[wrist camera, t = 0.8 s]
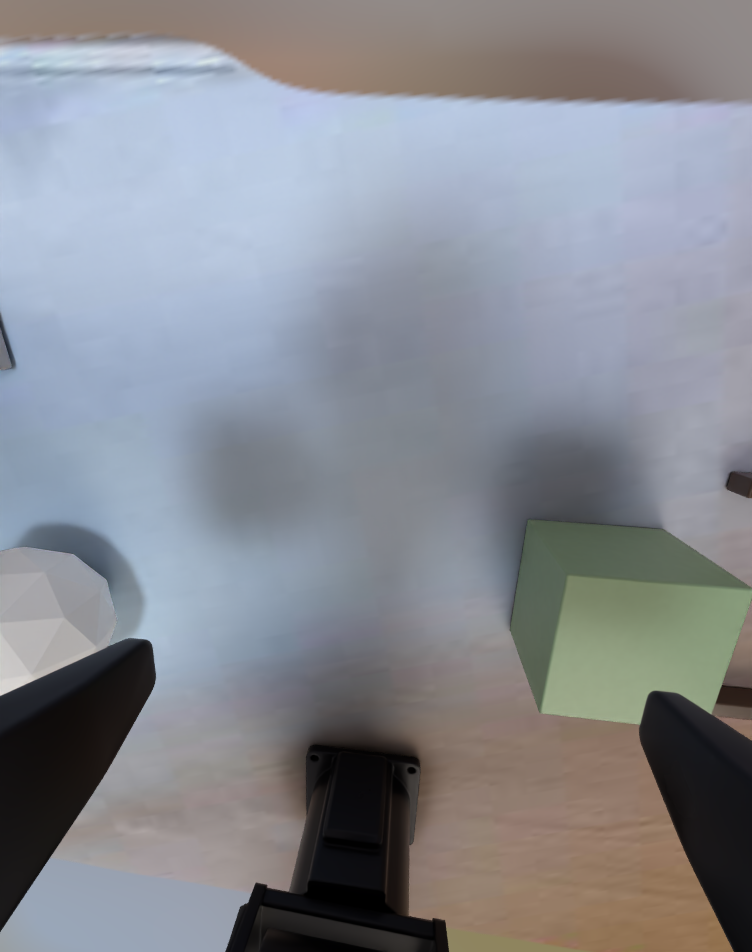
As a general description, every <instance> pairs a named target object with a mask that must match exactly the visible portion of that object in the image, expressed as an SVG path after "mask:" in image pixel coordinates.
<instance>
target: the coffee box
mask: <svg viewBox="0 0 752 952" xmlns="http://www.w3.org/2000/svg"><path fill="white" fill-rule="evenodd" d="M10 368H11V362H10V358H9V355H8V352H7V348H6V345H5V342H4V339H3V336H2V332H1V329H0V370H6V369H10Z"/></svg>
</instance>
